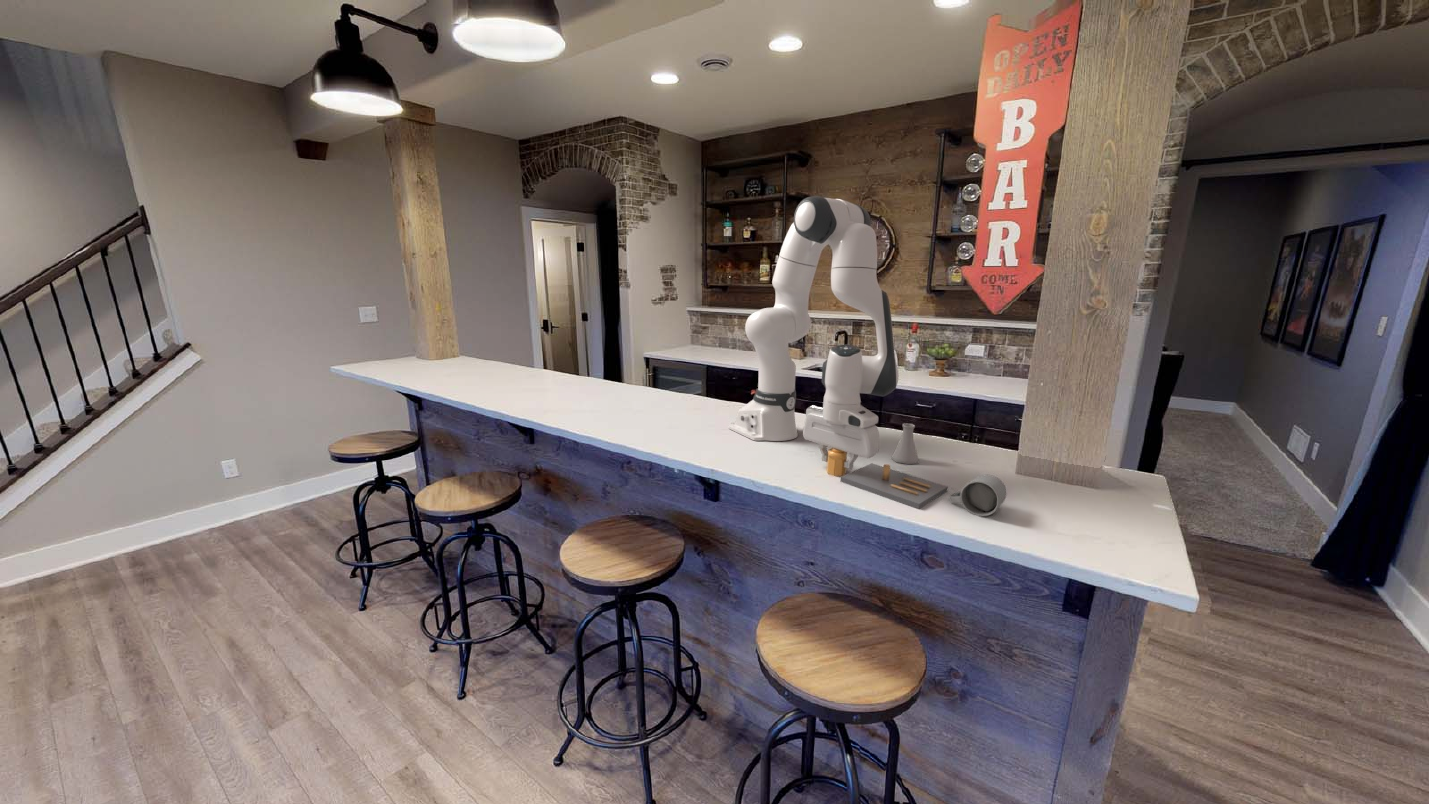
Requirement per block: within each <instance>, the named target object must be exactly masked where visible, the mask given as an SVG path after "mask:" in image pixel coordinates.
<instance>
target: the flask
mask: <svg viewBox="0 0 1429 804" xmlns="http://www.w3.org/2000/svg"><path fill="white" fill-rule="evenodd" d="M915 428H916V425H915V424H913V423H902V432H901V433H902V434H901V437H900V439H899V441H898V443H897V446H896V447H895V450H894V452H893V454H892V456H891V460H893V461H894V462H896V463H899V464H904V465H905V464H907V465H913V464H914V465H915V464H919V461H920V460H919V456H918V452H917V449H916V444H915V439H914V429H915Z"/></svg>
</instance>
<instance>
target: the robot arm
mask: <svg viewBox="0 0 1429 804" xmlns="http://www.w3.org/2000/svg"><path fill="white" fill-rule="evenodd" d="M871 220H872V219H871V215H870V213H869V212H868V210H866V209H865V208H864V207H862V206H861V205H859V204H857V203H852V202H850V201H847V200H845V199H840V198H832V197H831V198H830V197H823V196H822V195H813V196H808V197H805V198H803V199H802V200H801V201H800V202H799V203H798V205H797V206H796V209H795V211H794V215H793V222H792V223H791V225H790V226H789V229H788V230H787V232H786V235H785V237H784V240H783V242H782V245H781V247H780V252H779V255H778V259H777V262H776V266H775V269H774V272H773V276H772V281H771V283H772V287H773V289H774V291H775V292H774V293H775V300H774V301H775V302H774V306H773V307H766V308H765V307H764V308H761V309H759V310H757V311H755V312H753V313H751V314H750V315H749V316H748V317H747V319H746V321H745V325H744V330H745V335H746V338H747V339H748V341H749V342H750V343H751V344H752V345H753V347H754V350H755V353H756V354H755V355H756V357H757V358H756V359H757V365H758V383H757V387H758V388H757V387H756V389H752V390H751V393H750V394H751V395H753V394H754V395H753V397H752V398H753V399H752V400H750V401H749V402H748V403H746V404H744V405H743V406H742V407H740V408H739V410H738V411H737V414H736V418H735V419H736V420H735V421H734V422H731V423H729V425H728V429H729V430H731V431H733V432H735V433H737V434H739V435H742V436H744V437H746V438H748V439H751V440H752V441H756V442H757V441H759V442H761V441H771V442H781V441H782V442H784V441H791V440H794V439H796V438H797V437H798V436H799V435H798V431H797V425H796V416H795V415H796V413H795V407H796V401H797V391H796V376H797V375H796V371H797V366H796V363H795V361H793V360H792V357H791V354H790V350H789V344H790V343H795V342H798V341H799V340H801V339H802V338H804V337H805V336H806V335H807V334H809V332H810V330H811V327H812V326H811V325H812V320H811V316H810V314H809V299H810V293H811V289H812V284H813V281H814V278H815V274H816V271H817V268H818V264H819V261H820V257H821V254H822V251H823V249H824V248H826V247H827V246H829V247H830V248H831V252H832V259H831V269H830V289H831V292H832V293H833V295H834V297H835V298H836V299H837V300H838V301H840V302H841V303H843V304H844V305H847V306H848V307H851V308H852V309H856V310H858V311H861V312H862V313H864V314H866V315H868V316H869V317H870V318H871V319H872V321H873V322H874V326H875V332H876V343H877V354H875V355H873V356H872V355H863V353H862V349H861V348H860V347H858V346H855V345H854V344H853V345H852V344H837V345H834V346H832V347H831V348H830V349H829V352H828V356H827V359H826V360H825V361H824V362H823V363H822V370H821V371H822V372H821V383H822V385H823V386H824V388H825V393H824V396H823V402H822V406H817V405H814V404H812V405H810V406H808V407H807V408H806V410H805V420H804V425H803V432H802V436H803V438H804V440H805V441H810V442H812V443H815V444H818V449H819V451H820V453H821V461H822V462H825V463H827V461H828V447H829V448H835V449H839V450H842V451H845V452H847V453H848V457H849V459H847V461H845V463H844V464H845V466H844V468H846V470H852V469H854V463H855V461H856V460H857V458H858V457H859V456H860V457H862V458H865V459H870V458H873V457H874V456H876V455H877V454H878V453H879V447H880V433H879V432H880V431H879V429H878V427H877V424H878V423H879V416H878V415H877V414H876V413H874V412H872V411H870V410H869V409H867V408H866V407H864V406H863V405H862V404H861V403H862V401H861V395H860V394H867V395H872V396H877V397H886V396H888V395H889V394H891V393H892V392H893V391H895V389H897V386H898V381H899V376H900V375H899V369H898V368H899V367H898V365H897V364H898V363H897V361H896V357H895V342H894V333H893V332H894V331H893V321H892V313H891V306H890V299H889V296H888V293H887V292H886V291H884V290H882V289H881V287H880V284H879V283H878V282H879V281H878V278H877V273H878V271H877V269H878V246H877V245H878V244H877V236H876V232H875V230H874V229H873V227H872V226H871V224H872V223H871Z"/></svg>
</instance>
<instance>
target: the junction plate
mask: <svg viewBox="0 0 1429 804" xmlns="http://www.w3.org/2000/svg"><path fill="white" fill-rule="evenodd" d="M840 483H843V484H846V485H848V486H849V485H850V486H851V487H854V488H858V489H860V490H863V491H867V492H869V493H871V494H875V495H878V496H880V497H883V498H886V499H889V500H892V501H895V502H898V503H900V504H902V505H903V504H904V505H906V506H909V507H912V508H915V509H916V510H918V509H921V508H923V507H924V506H926V505H928V504H929V503H931V502H933V501H934V500H936V499H937V498H939V497H940V496H943V495H944V494H945V493H948V488H949V487H948V486H947V485H943V484H942V483H941V484H940V483H937V482H933V481H931V480H927V479H924V478H921V477H917V476H915V475H911V474H908V473H905V472H901V471H899V470H894V469H891V465H890V464H886V463H885V464H883V466H882V465H880V464H879V465H878V464H875V463H873V462H872V463H869V464H866V465H865V466H862V467H860V468H858V469H856V470H854V471H851V472H849V473H846V474H845V475H843V476H840Z"/></svg>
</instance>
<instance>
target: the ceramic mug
mask: <svg viewBox="0 0 1429 804" xmlns="http://www.w3.org/2000/svg"><path fill="white" fill-rule="evenodd" d="M948 497H949V500H950V503H952V504H961V505H962V506H963V507H964V509H965V510H966V511H968V512H969V513H970V514H972V515H974V516H978V517H989V516H990V515H992V514H994V513H996V511H997V510H998V509H999V508H1000V506H1001V505H1003V503H1004V502H1005V501H1006V498H1007V488H1006V485H1005V484H1004V482H1003V481H1002V480H1001V479H1000V478H999V477H997V476H995V475H991V474H981V475H979V476H976V477H974V478H973V479H972V480H970V481H968V482H967V483H965V485H964V486H963V487H962V488H961V490H960V491H956V492H953V493H951V494H950V495H949V496H948Z"/></svg>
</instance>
